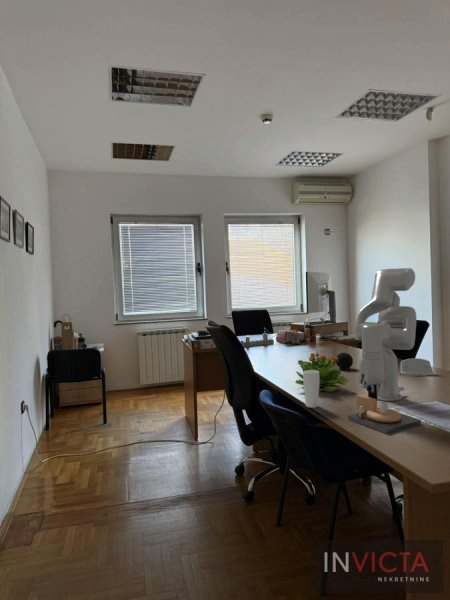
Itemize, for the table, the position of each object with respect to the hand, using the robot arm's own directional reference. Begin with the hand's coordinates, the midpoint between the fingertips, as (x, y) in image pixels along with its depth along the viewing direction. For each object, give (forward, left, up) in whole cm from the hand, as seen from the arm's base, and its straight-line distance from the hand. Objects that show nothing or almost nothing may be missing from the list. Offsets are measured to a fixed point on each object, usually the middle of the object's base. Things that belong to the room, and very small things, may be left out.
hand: (372, 401), depth 161 cm
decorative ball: (-48, -66, -5) cm, 82 cm away
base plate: (+5, +9, -5) cm, 12 cm away
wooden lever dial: (+5, +6, -3) cm, 8 cm away
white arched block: (-70, -33, -5) cm, 78 cm away
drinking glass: (+15, -20, -5) cm, 25 cm away
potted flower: (-6, -41, -5) cm, 41 cm away
